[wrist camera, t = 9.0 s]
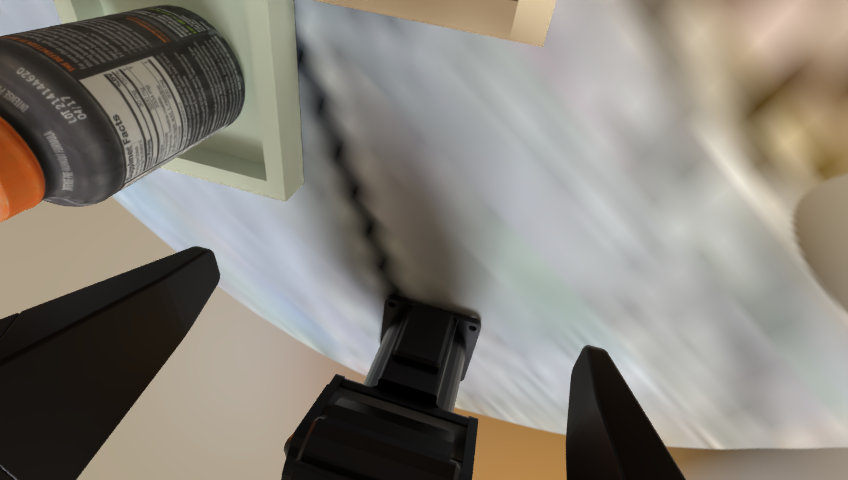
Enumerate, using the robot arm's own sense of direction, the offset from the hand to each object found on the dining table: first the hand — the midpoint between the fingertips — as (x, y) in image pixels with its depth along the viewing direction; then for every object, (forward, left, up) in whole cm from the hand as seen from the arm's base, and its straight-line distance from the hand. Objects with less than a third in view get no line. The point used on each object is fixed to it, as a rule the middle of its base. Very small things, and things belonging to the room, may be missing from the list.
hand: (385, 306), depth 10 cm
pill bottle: (0, +14, -12) cm, 19 cm away
